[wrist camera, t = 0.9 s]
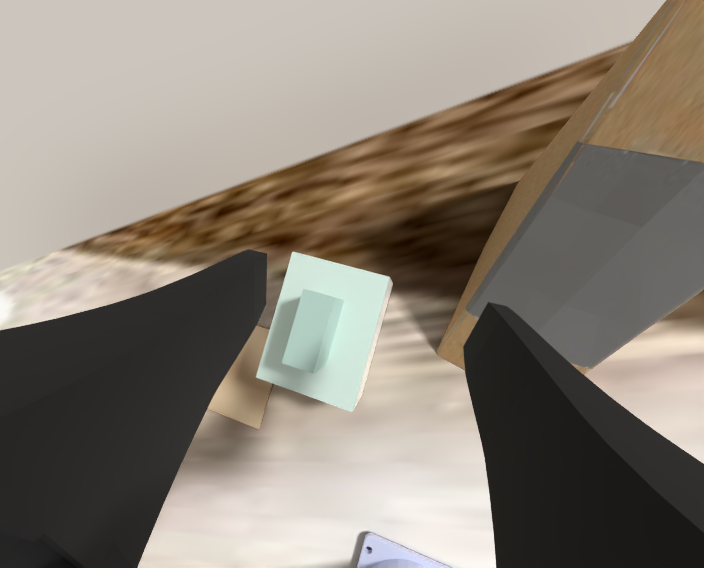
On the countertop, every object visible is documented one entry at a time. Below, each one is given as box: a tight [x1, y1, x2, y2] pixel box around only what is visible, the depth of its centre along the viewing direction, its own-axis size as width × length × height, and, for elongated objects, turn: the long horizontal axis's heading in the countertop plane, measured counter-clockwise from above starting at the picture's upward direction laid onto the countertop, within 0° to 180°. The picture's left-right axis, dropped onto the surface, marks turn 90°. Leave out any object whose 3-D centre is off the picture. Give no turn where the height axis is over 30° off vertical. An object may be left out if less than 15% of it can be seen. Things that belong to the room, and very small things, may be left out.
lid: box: [256, 252, 391, 412], centre depth 19 cm, size 9×7×4 cm
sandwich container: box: [436, 0, 704, 375], centre depth 15 cm, size 9×15×15 cm, turn 153°
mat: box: [207, 325, 273, 429], centre depth 26 cm, size 8×8×1 cm
